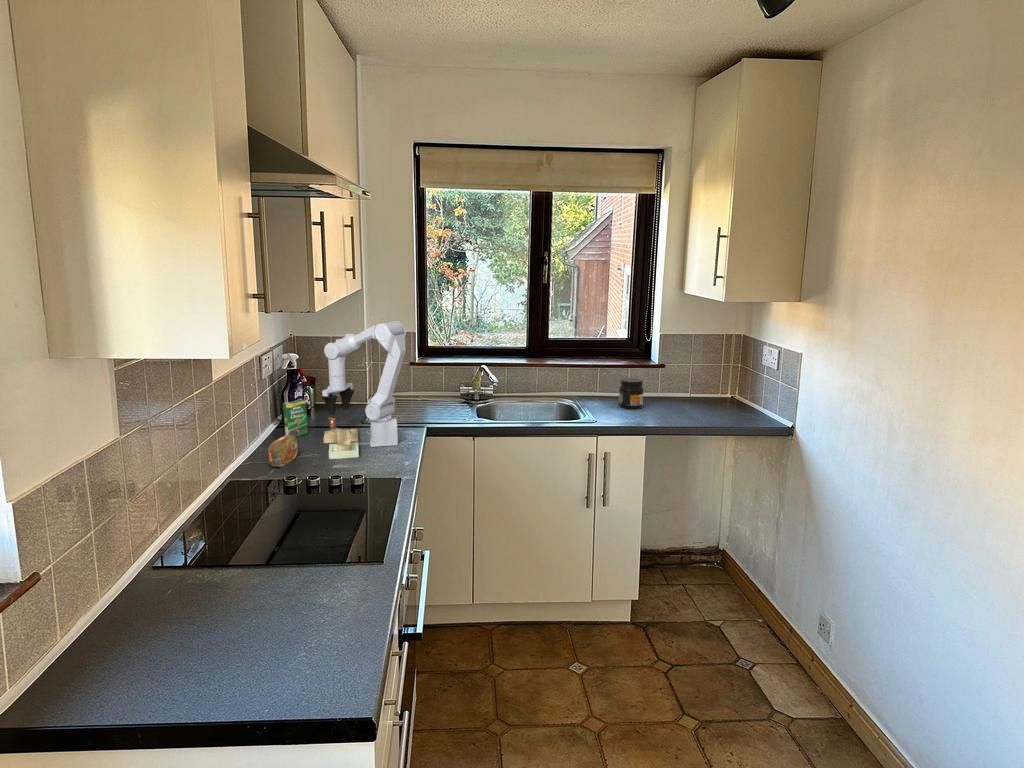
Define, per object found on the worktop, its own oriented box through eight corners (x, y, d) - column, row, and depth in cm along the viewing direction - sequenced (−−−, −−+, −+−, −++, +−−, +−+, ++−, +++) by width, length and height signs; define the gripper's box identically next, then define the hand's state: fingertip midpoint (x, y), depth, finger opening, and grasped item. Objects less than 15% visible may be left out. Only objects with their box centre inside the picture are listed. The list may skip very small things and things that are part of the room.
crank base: (357, 432, 256) (357, 428, 256) (358, 441, 246) (358, 437, 246) (324, 434, 254) (324, 430, 253) (323, 443, 243) (323, 439, 243)
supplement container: (647, 409, 292) (648, 381, 290) (624, 410, 290) (625, 383, 287) (637, 403, 302) (638, 377, 300) (614, 404, 300) (615, 378, 298)
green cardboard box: (288, 438, 248) (285, 403, 246) (284, 437, 250) (282, 402, 248) (308, 434, 254) (306, 400, 251) (305, 432, 256) (302, 398, 253)
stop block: (349, 450, 234) (348, 430, 232) (350, 453, 230) (349, 433, 229) (337, 451, 233) (336, 431, 231) (338, 454, 229) (337, 434, 227)
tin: (276, 470, 215) (274, 445, 213) (267, 470, 215) (265, 444, 214) (300, 456, 229) (298, 431, 227) (291, 455, 230) (289, 431, 228)
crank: (353, 432, 250) (352, 420, 249) (346, 435, 247) (346, 422, 246) (332, 428, 255) (331, 416, 254) (325, 430, 253) (325, 417, 252)
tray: (358, 448, 237) (358, 442, 237) (358, 457, 228) (358, 450, 227) (329, 450, 235) (329, 444, 234) (329, 459, 226) (328, 452, 225)
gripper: (341, 370, 254) (343, 406, 257) (314, 377, 241) (316, 414, 244) (356, 372, 251) (358, 408, 254) (330, 379, 238) (332, 417, 241)
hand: (338, 411), depth 249 cm, fingers open, 7 cm apart
